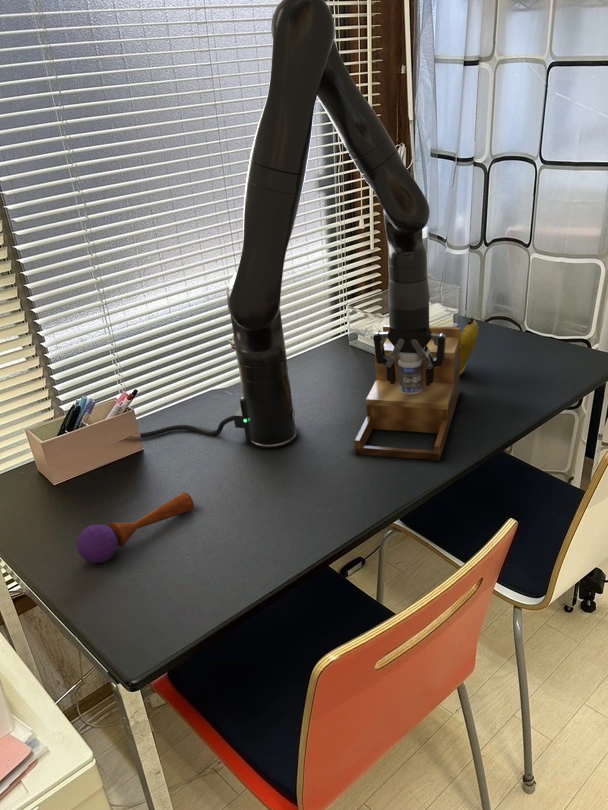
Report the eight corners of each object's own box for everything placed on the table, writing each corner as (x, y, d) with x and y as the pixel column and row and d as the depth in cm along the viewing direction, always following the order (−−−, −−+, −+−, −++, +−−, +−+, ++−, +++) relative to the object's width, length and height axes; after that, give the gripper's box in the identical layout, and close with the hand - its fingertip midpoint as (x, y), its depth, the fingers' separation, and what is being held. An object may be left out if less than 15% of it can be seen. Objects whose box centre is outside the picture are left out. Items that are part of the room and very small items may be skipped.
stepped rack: (355, 454, 134) (350, 382, 126) (386, 389, 156) (383, 325, 148) (439, 460, 130) (439, 386, 122) (459, 393, 152) (460, 327, 144)
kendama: (198, 496, 118) (88, 548, 105) (198, 523, 121) (92, 576, 108) (177, 478, 121) (67, 527, 108) (177, 505, 124) (71, 555, 111)
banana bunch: (486, 377, 158) (489, 312, 150) (461, 388, 154) (462, 323, 146) (449, 363, 166) (449, 301, 158) (424, 373, 162) (423, 310, 154)
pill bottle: (403, 397, 138) (402, 357, 133) (395, 387, 142) (394, 348, 137) (426, 392, 139) (425, 353, 134) (417, 383, 143) (417, 344, 138)
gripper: (366, 307, 129) (371, 389, 138) (444, 309, 126) (444, 393, 135) (375, 294, 136) (379, 373, 144) (450, 295, 132) (449, 377, 141)
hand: (410, 383), depth 139 cm, fingers open, 6 cm apart
